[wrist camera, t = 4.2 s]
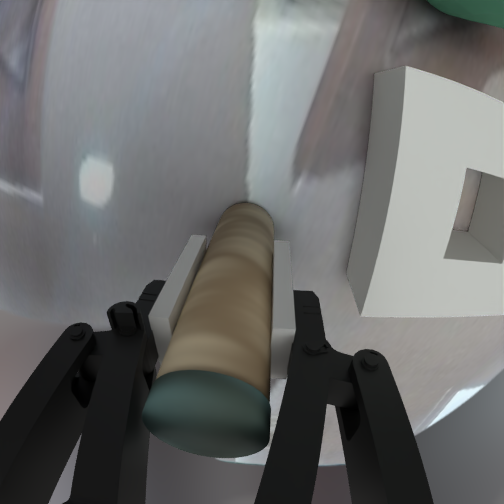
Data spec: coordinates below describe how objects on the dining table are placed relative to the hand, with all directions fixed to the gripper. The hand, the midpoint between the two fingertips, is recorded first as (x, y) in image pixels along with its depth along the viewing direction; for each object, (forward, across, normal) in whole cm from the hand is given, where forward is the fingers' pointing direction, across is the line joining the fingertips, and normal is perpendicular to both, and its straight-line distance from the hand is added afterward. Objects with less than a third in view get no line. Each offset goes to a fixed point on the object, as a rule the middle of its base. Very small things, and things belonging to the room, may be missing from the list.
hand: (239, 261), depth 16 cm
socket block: (+5, +14, +4) cm, 16 cm away
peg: (+4, 0, 0) cm, 4 cm away
